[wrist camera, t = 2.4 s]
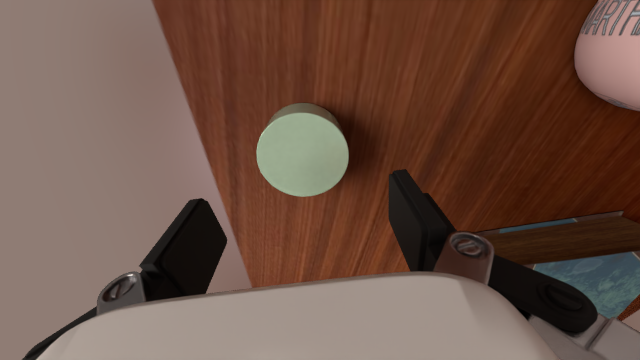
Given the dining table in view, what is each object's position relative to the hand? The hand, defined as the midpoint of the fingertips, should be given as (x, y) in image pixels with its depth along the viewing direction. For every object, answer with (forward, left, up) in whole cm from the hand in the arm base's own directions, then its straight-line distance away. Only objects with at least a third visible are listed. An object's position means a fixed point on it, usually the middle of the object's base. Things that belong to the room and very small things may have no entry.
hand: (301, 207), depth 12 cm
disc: (0, 0, -9) cm, 9 cm away
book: (+25, -25, -10) cm, 37 cm away
